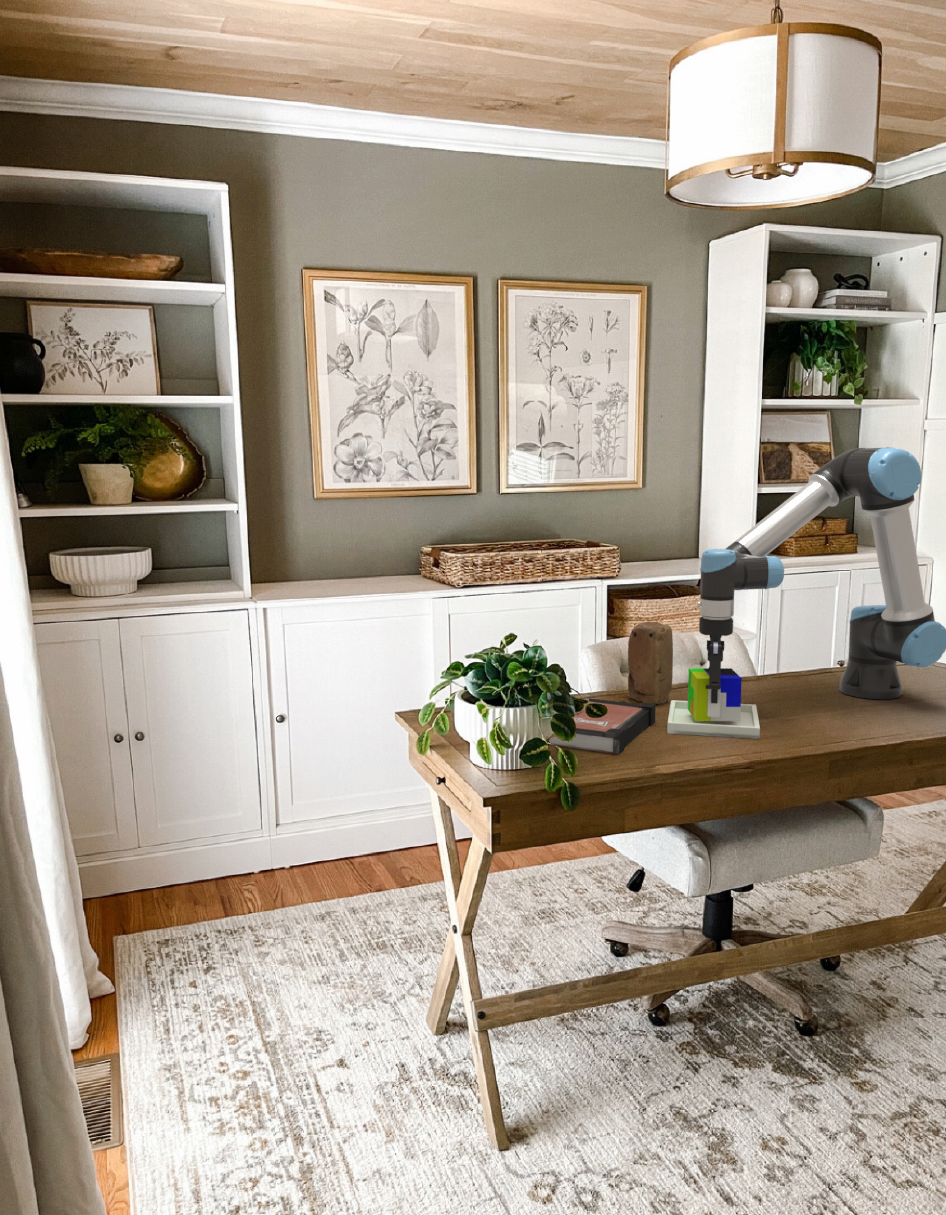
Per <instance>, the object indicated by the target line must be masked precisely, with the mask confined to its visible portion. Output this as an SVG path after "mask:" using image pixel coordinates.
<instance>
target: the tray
mask: <svg viewBox="0 0 946 1215" xmlns="http://www.w3.org/2000/svg"><path fill="white" fill-rule="evenodd" d="M757 709H758V708H757V704H748V703H746V704H745V703H741V712H740V721H696V720H695V719H694V718H693V716H692V715H691V713H690V712H689V710H688V700H673V699H672V700H671V701H670V705H669V711H668V712H669V713H668V718H667V730H666V731H667V734H669V735H670V734H671V735H685V736H701V737H702V736H704V737H718V738H719V737H721V738H732V737H734V738H735V739H749V738H750V740H752V739H753V740H760V739H761V738H760V735H761V734H760V733H761V732H760V730H761V728H760V722H759V721H760V720H759V715H758V714H759V713H758V710H757Z"/></svg>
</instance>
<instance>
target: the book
mask: <svg viewBox="0 0 946 1215" xmlns="http://www.w3.org/2000/svg"><path fill="white" fill-rule="evenodd" d="M588 698H589V697H588ZM589 701H590V702H594V703H599V704H602V705H605V706H606V707H607V709H608V714H606V715H605V716H603V717H601V718H591V717H589V716H587V715H586V713H585V709H584V710H583V711H581V712H580V713H577V714H575V716H574V721H575V723H576V737H575V739H574V740H573V741H569V742H568V741H562V740H560V739H558V738H557V737H553V738H551V739H550V740H549V742H550V743H552V744H554V745H553V746H555V745H557V746H556V747H561V748H562V747H563V748H570V749H577V750H583V751H591V752H597V753H606V754H610V755H611V754H612V755H620V754H621V753H623V752H624V751H625V747H627V746H628V745H629V744H630V743H631V742H632V741H633V740H635V739H637V737H638V736H639V735H640V734H641V733H643V732H645V731H646V730H647V728H648V727H652V726H653V725H655V724H656V709H657V708H656V705H657V704H651V703H644V702H641V703H632V702H624V701H617V700H616V701H615V700H607V699H598V698H589Z"/></svg>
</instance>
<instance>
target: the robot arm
mask: <svg viewBox="0 0 946 1215" xmlns="http://www.w3.org/2000/svg"><path fill="white" fill-rule="evenodd" d="M921 481H922V469H921V466H920V463H919V461H918V460H917V458H916V457H915V455H913V454H912V453H910V452H909V451H907V450H906V449H902V448H896V447H888V446H887V447H886V446H885V447H869V448H865V447H858V448H856V447H855V448H853V449H849V450H846V451H845V452H842V453H841V454H839V455H837V456H835V457H834V458H832V459H831V460H829V461H828V462H826V463H825V464H824V465H823V466H821V467H820V468H818V469H817V470H816V471H814V473H812V474H811V475H810V476H809V477H808V482H807V483H806V484H805V485H803V487H801V488H799V490H797V491H796V492H795V493H794V494H792V495H791V496H790V497H788V498H787V499H786V500H785V501H784V502H782V503H780V505H779V506H778V507H776V508H775V509H773V510H772V511H771V512H770V513H768V514H767V515H766V516H765V517H764V518H762V519H761V520H760V521H758V522H757V523H756V524H754V526H752V527H751V528H750V529H749V530H748V531H746V532H745V533H744V534H742V535H741V536H740V537H739V538H738V539H736V540H734V542H732V543H731V544H729V545H728V546H727V547H726V548H709V549H706V550H704V551H703V552H702V554H701V560H700V567H699V571H700V601H698V602H697V604H696V606H698V607H700V609H699V615H700V616H701V617H699V620H698V621H699V622H698V623H699V625H698V626H699V628H698V629H699V634H701V635H704V636H709V640H706V650H707V661H708V662H709V666H708V668H710V670H709V684H708V685H706V689H708V714H707V716H709V717H720V692H721V684H720V678H721V668H722V662H723V661H724V651H725V640H722V637H723V636H724V637H727V636H730V635H732V634H733V633H734V619H733V616H734V614H735V611H734V610H735V591H742V590H743V591H744V590H745V591H746V590H747V591H748V590H768V589H775V588H778V587H779V586H781V584H782V583H783V581H784V578H785V566H784V563H783V561H782V560H781V559H780V558H779V557H778V556H775V555H771V556H770V555H769V554H770V553H771V552H773V551H774V550H775V549H776V548H777V547H779V546H780V545H781V544H782V543H784V542H785V541H786V540H787V539H789V538H790V537H791V536H793V535H794V534H795V533H797V531H799V530H800V529H801V528H802V527H804V526H805V525H807V524H808V523H809V522H810V521H812V520H813V519H814V518H816V517H817V516H818V515H819V514H821V513H822V512H823V511H824V510H826V509H827V508H828V507H836V506H837V505H839V504H840V503H841V502H843V501H844V500H846V499H849V498H853V497H854V498H855V497H858V498H859V501H860V505H861V510H862V511H863V512H865V513H866V514H868V515H869V518H870V522H871V527H872V533H873V538H874V539H873V540H874V545H875V551H876V556H877V561H878V567H879V572H880V579H881V585H882V589H883V590H882V591H883V594H884V601H885V604H883V605H882V604H881V605H880V604H878V605H874V604H873V605H859V606H855V607H853V608H852V610H851V613H850V619H849V635H848V636H849V637H848V639H849V640H848V657H847V658H848V660H847V663H846V666H845V669H844V671H843V672H842V676H841V678H840V680H839V691H840V692H841V693H843V694H845V695H848V696H850V697H855V698H861V699H870V700H891V699H897V698H900V697H902V696H903V684H902V680H901V677H900V674H899V670H898V665H897V663H902V664H904V665H906V666H908V667H915V668H927V667H930V666H932V665H935V663H937V662H938V661H939V660H940V659H941V658H942V656H943V654H944V653H945V652H946V627H945V626H944V625H942V624H941V623H940V622H939V621H936V620H935V613H934V608H933V607H932V605H930V604H928V603H927V602H926V601H925V597H924V590H923V585H922V578H921V572H920V566H919V560H918V555H917V550H916V542H915V537H914V536H915V535H914V532H913V531H914V529H913V525H912V521H911V520H912V519H911V513H910V507H911V506H912V504H913V503H914V502H915V494H916V492H917V491H918V489H919V485H920V484H921ZM768 555H769V556H768ZM712 682H717V683H712ZM901 695H902V696H901Z"/></svg>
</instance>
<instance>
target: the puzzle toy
mask: <svg viewBox="0 0 946 1215" xmlns="http://www.w3.org/2000/svg"><path fill="white" fill-rule="evenodd" d="M709 670H710V668H709V667H708V668H707V667H705V668H702V667H701V668H688V684H687V685H688V688H687V689H688V690H687V701H688V710H689V712H690V713H691V715H692V716H693V718H694V719H695V720H696V721H740V712H741V704H742V681H743V680H742V677H741V676H740V675H739V674H738V673H737V672H736V671H735V670H734V669H733V668H730V667H729V668H726V667H725V668H724V667H723V668H722V667H721V678H720V684H721V692H720V717H709V716H707V714H708V689H706V685H708V684H709ZM712 683H717V682H712Z"/></svg>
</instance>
